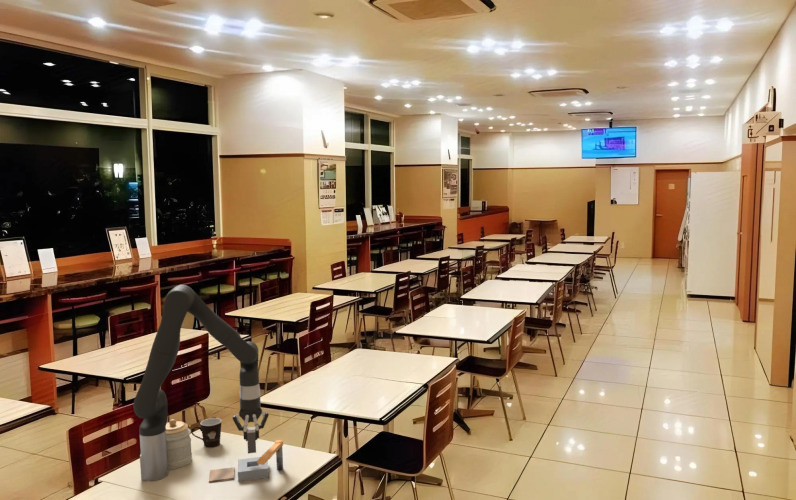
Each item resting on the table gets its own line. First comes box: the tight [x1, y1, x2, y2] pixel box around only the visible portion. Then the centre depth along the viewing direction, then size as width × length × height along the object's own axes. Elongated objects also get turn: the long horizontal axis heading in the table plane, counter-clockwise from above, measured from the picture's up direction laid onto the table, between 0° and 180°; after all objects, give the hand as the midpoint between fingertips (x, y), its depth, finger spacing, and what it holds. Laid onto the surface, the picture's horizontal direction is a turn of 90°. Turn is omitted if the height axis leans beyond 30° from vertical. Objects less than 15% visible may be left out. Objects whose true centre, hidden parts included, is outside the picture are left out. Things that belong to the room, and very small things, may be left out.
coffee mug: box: [190, 417, 222, 449], centre depth 259 cm, size 12×9×10 cm
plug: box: [246, 426, 257, 454], centre depth 232 cm, size 3×3×9 cm
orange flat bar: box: [257, 439, 284, 465], centre depth 227 cm, size 18×3×1 cm, turn 168°
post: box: [275, 446, 284, 472], centre depth 235 cm, size 2×2×9 cm
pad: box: [208, 466, 235, 483], centre depth 231 cm, size 9×9×1 cm
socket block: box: [237, 456, 270, 482], centre depth 233 cm, size 11×11×4 cm
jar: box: [166, 418, 193, 470], centre depth 242 cm, size 13×13×18 cm
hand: (251, 439), depth 232 cm, fingers closed on plug, 3 cm apart
